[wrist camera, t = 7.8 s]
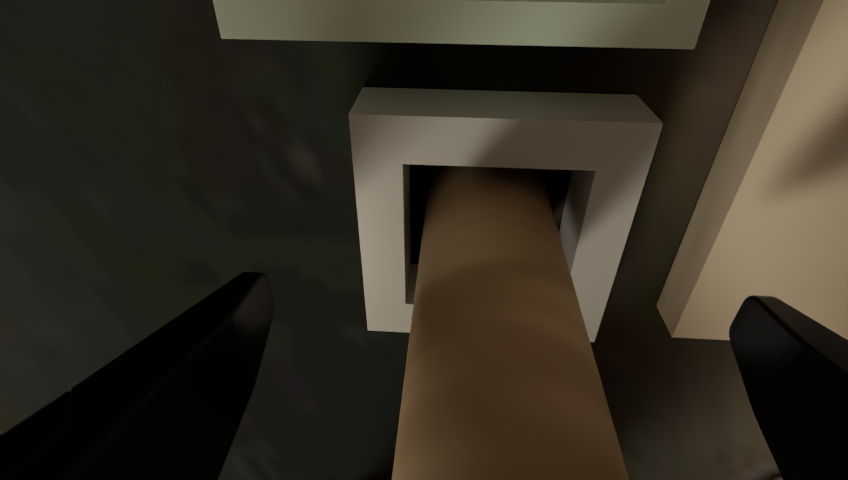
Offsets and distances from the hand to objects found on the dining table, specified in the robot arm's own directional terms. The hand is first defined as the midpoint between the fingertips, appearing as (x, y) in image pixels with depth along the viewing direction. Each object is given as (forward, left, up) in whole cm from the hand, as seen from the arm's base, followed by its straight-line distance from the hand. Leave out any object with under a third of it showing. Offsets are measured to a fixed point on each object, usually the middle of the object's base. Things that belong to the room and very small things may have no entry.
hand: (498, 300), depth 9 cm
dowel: (0, 0, -3) cm, 3 cm away
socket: (0, 0, -3) cm, 3 cm away
